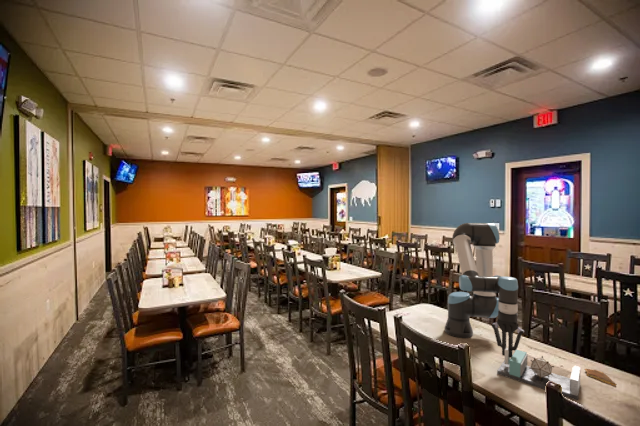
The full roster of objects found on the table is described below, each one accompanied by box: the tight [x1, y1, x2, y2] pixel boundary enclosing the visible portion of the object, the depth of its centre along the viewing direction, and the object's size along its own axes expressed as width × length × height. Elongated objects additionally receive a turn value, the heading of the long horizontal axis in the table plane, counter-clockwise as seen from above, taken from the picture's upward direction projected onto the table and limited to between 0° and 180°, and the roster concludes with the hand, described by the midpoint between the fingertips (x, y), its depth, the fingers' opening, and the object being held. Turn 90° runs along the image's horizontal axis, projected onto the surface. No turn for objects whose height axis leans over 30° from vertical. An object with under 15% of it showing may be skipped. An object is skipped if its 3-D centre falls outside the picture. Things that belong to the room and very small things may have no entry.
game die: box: [529, 355, 555, 379], centre depth 133 cm, size 9×8×10 cm
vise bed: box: [496, 359, 581, 401], centre depth 133 cm, size 14×28×8 cm, turn 47°
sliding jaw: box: [509, 349, 528, 377], centre depth 138 cm, size 14×4×6 cm, turn 137°
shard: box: [584, 368, 617, 387], centre depth 134 cm, size 11×8×2 cm
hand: (507, 363), depth 141 cm, fingers closed
